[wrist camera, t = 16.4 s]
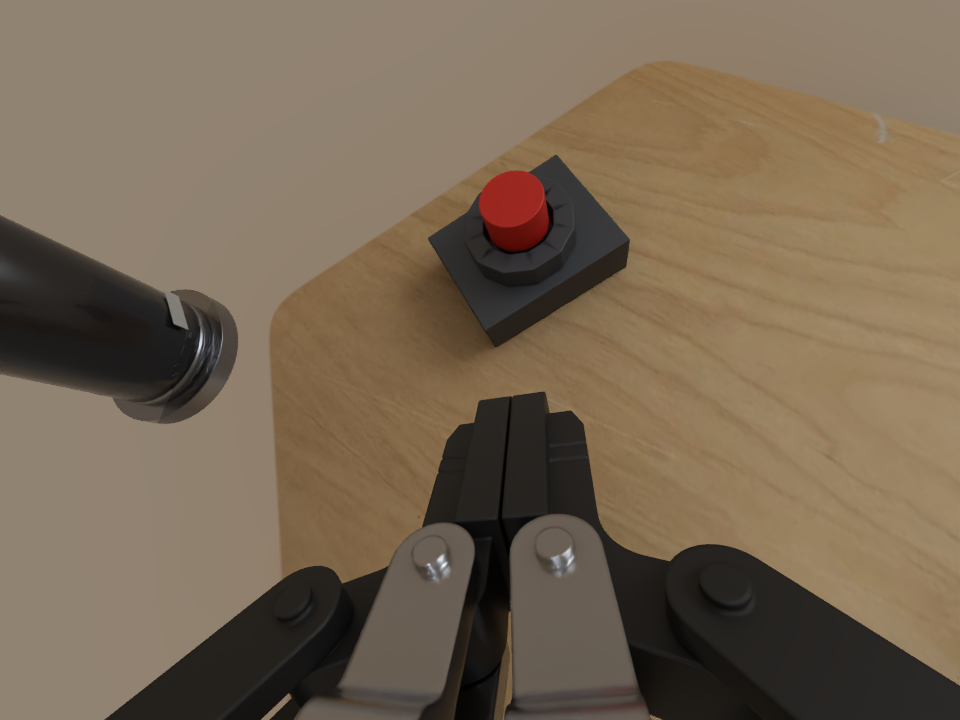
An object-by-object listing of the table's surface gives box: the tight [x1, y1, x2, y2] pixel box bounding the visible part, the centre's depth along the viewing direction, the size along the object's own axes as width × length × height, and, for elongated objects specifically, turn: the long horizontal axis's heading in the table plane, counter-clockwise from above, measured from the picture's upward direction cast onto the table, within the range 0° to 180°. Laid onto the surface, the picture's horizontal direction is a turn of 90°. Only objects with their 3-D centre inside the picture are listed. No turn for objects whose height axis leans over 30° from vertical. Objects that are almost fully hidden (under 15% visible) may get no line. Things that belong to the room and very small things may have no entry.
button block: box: [428, 155, 630, 347], centre depth 28 cm, size 10×8×5 cm
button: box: [479, 171, 549, 252], centre depth 25 cm, size 4×4×3 cm
